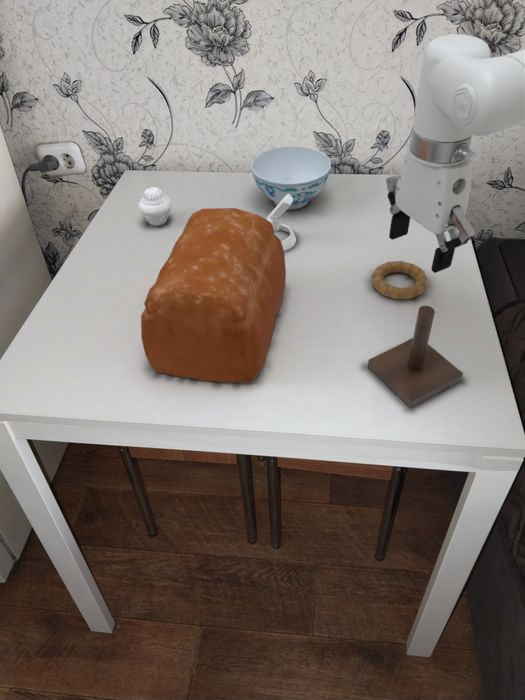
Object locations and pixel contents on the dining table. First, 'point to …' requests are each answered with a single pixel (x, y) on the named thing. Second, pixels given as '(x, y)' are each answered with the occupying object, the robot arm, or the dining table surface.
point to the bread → (216, 298)
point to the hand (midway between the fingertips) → (418, 252)
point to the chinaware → (291, 173)
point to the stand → (416, 365)
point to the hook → (277, 226)
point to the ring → (395, 291)
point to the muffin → (155, 206)
